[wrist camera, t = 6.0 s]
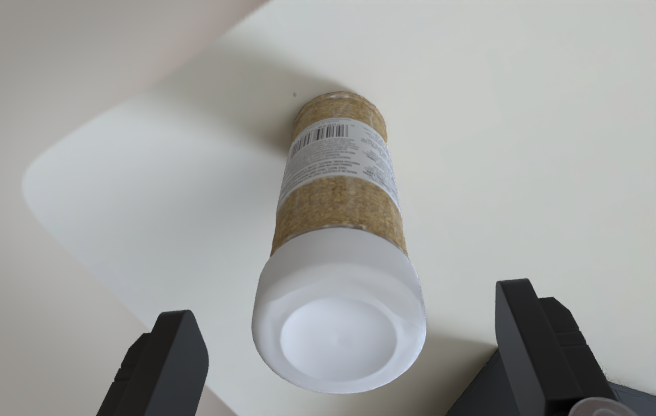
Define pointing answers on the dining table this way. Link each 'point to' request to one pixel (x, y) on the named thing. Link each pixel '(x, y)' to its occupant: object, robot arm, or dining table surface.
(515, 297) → the robot arm
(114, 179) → the dining table surface
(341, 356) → the sprinkles bottle
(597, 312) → the dining table surface
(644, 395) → the divided storage tray
